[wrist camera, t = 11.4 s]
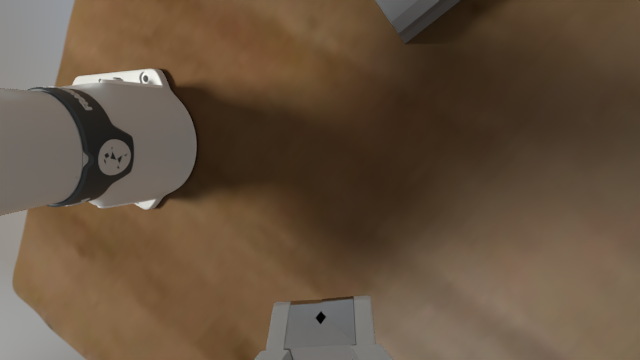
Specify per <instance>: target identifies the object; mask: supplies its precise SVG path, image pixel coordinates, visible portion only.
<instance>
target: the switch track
mask: <svg viewBox="0 0 640 360" xmlns="http://www.w3.org/2000/svg"><path fill="white" fill-rule="evenodd" d="M375 1H376V3H377V4H378V6H379V7H380V8H381V10H382V11H383V13H384V14H385V16H386V17H387V19H388V20H389V21H390V23H391V24H392V26H393V27H394V29H395V30H396V32H397V33H398V34H399V36H400V37H401V39H402V40H403V42H404V43H405V44H406V43H407V42H408V41H410V40H411V39H412V38H413V37H415V36H416V35H417V34H419V33H420V32H421V31H422V30H424V29H425V28H426V27H427V26H429V25H430V24H431V23H432V22H434V21H435V20H436V19H438V18H439V17H440V16H441V15H443V14H444V13H445V12H446V11H448V10H449V9H450V8H452V7H453V6H454V5H455V4H457V3H458V2H459V1H460V0H375Z"/></svg>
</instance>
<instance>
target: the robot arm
mask: <svg viewBox="0 0 640 360" xmlns="http://www.w3.org/2000/svg"><path fill="white" fill-rule="evenodd" d="M196 151H197V142H196V133H195V129H194V125H193V122H192V120H191V117H190V115H189V113H188V111H187V110H186V108H185V106H184V105H183V104H182V102H181V101H180V100H179V99H178V98H177V97H176V96H175V95H174V93H173V92H172V91H171V89H170V87H169V84H168V82H167V79H166V77H165V75H164V73H163V72H162V71H161V70H159V69H142V70H132V71H123V72H113V73H104V74H94V75H84V76H78V77H76V79H75V80H74V82H73V84H72V85H71V86H64V87H53V86H49V87H36V88H31V89H28V90H18V89H4V88H0V216H1V215H5V214H9V213H14V212H18V211H22V210H27V209H31V208H36V207H41V206H45V205H46V206H50V207H60V206H72V205H77V204H81V203H84V202H87V201H89V202H90V203H92V204H94V205H97V206H98V208H110V207H116V206H122V205H128V204H133V203H134V204H136V205H137V206H139V207H141V208H143V209H146V210H147V209H153V208H155V207H156V206H157V205H158V204H159V202H160V201H161V200H162V198H163V197H164V196H165V195H167V194H169V193H171V192H173V191H175V190H176V189H178V188H179V187H180V186H182V185H183V184H184V183H185V181H186V180H187V179H188V177H189V175H190V174H191V171H192V169H193V166H194V163H195V159H196ZM254 360H393V358H392V357H391V356H390V355H389V353H388V352H387V351H386V350H385V349H384V347H383V346H382V345H381V344H376V341H375V331H374V322H373V313H372V304H371V297H370V295H367V296H350V297H338V298H327V299H322V300H303V301H285V302H275V304H274V306H273V311H272V317H271V323H270V328H269V334H268V340H267V346H266V351H261V352H260V353H259V354H258V356H257V357H256V358H255V359H254Z"/></svg>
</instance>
